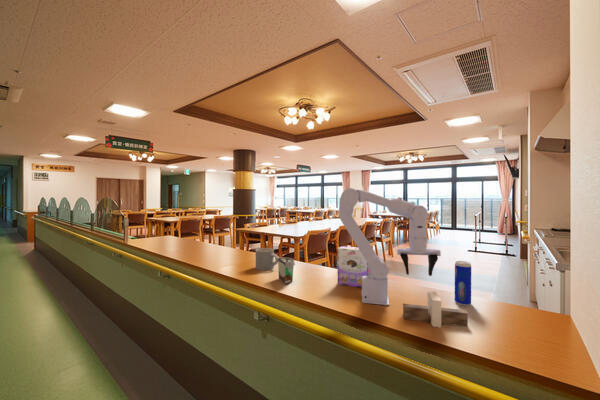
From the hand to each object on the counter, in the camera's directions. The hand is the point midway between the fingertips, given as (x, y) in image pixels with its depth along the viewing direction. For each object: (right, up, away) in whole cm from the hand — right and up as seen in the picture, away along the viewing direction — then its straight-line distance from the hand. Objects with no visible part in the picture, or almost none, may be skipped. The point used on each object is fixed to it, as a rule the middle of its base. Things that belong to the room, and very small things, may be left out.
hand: (418, 274), depth 97 cm
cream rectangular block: (-2, -11, -14) cm, 18 cm away
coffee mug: (-62, -10, +47) cm, 78 cm away
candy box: (-20, -11, +20) cm, 30 cm away
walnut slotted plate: (-2, -11, -14) cm, 18 cm away
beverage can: (+16, -11, 0) cm, 19 cm away
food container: (-49, -10, +26) cm, 57 cm away
